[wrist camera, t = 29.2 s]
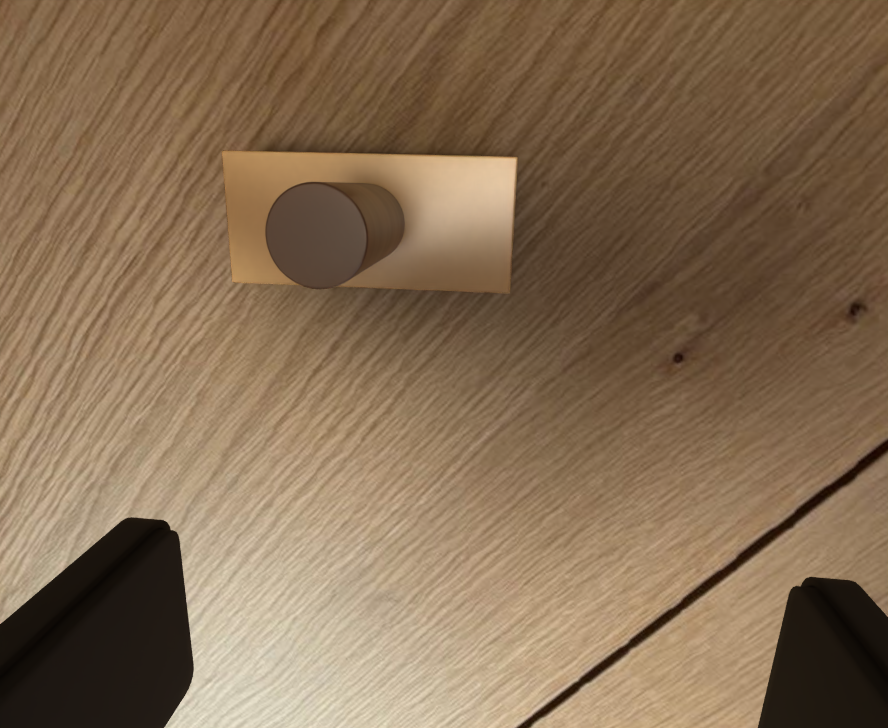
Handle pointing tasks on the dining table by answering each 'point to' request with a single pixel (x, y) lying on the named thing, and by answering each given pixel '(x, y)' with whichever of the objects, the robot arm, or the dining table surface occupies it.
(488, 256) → the peg on base plate
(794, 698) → the robot arm
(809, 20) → the dining table surface
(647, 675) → the dining table surface
